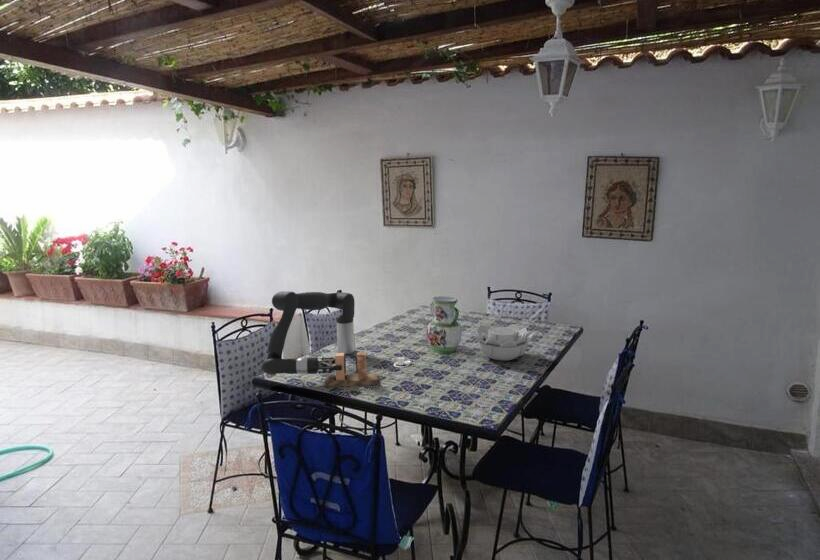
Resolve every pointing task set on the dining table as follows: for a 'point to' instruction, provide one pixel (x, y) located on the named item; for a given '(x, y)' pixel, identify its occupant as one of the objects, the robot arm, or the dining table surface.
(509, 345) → the decorative bowl
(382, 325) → the dining table surface
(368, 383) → the rail
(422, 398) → the dining table surface
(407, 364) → the teacup and saucer
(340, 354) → the tall tan pillar block
